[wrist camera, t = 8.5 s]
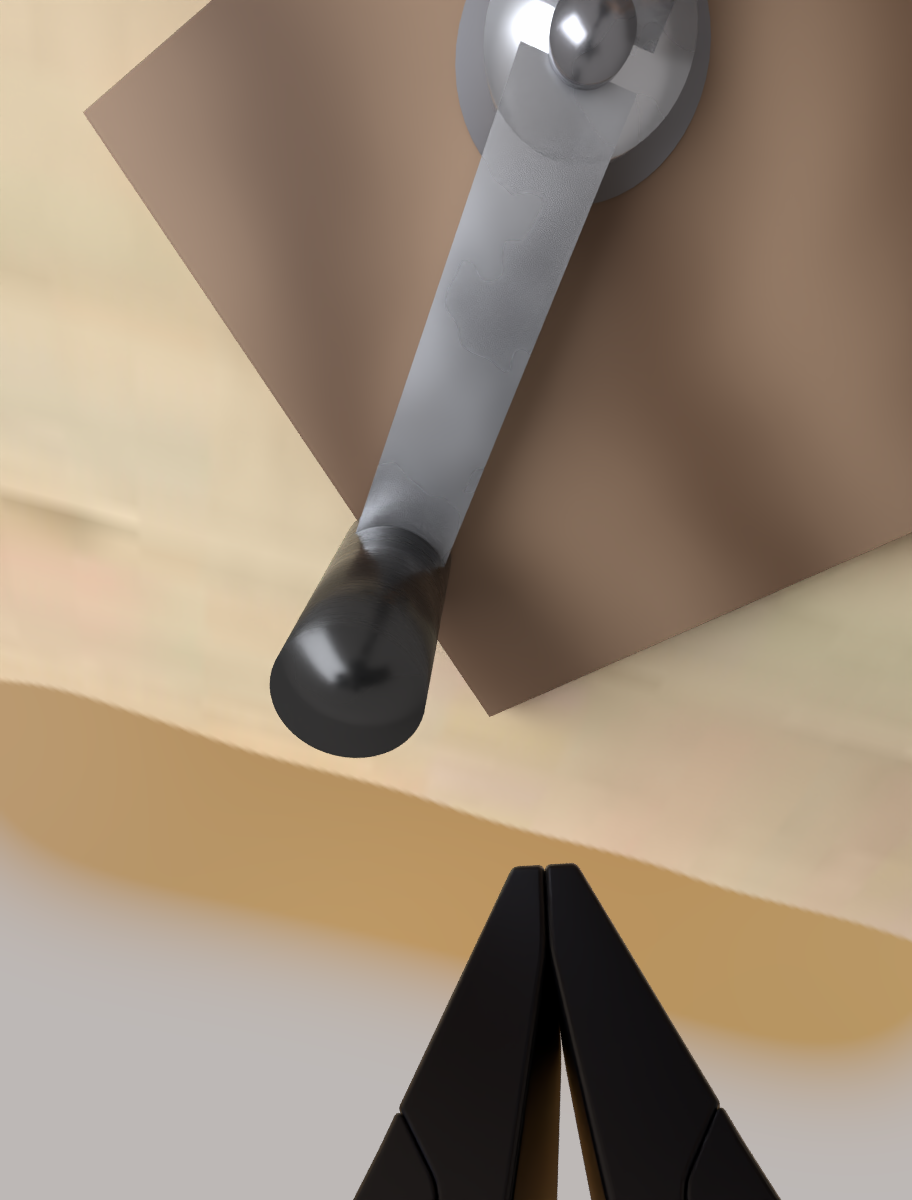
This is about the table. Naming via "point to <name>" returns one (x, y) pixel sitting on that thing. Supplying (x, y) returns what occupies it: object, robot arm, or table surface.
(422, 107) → the press bench
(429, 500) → the lever
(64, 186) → the table surface
